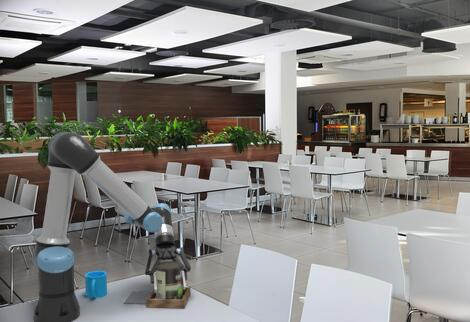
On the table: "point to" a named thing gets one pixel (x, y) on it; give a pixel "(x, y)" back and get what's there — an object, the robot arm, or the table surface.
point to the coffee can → (169, 280)
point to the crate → (168, 300)
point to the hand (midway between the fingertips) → (170, 289)
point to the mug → (96, 284)
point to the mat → (137, 297)
